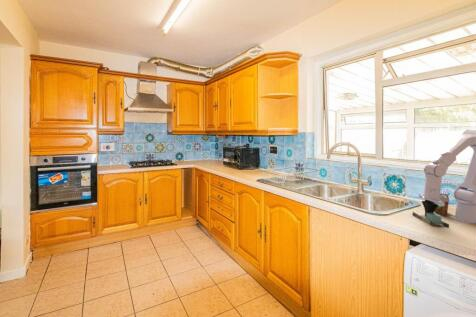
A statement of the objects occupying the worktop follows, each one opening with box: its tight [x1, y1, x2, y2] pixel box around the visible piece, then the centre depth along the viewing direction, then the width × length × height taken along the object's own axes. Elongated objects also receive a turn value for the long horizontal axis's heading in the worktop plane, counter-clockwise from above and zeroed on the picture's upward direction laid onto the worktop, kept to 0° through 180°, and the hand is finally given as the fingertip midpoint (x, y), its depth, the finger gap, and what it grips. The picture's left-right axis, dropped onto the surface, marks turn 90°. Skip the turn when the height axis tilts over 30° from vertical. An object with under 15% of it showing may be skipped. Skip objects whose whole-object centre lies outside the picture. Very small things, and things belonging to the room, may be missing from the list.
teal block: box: [426, 212, 443, 225], centre depth 115 cm, size 4×4×4 cm
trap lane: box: [411, 211, 450, 229], centre depth 118 cm, size 6×16×2 cm, turn 175°
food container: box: [434, 193, 450, 217], centre depth 130 cm, size 12×6×10 cm, turn 141°
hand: (428, 216), depth 118 cm, fingers closed
